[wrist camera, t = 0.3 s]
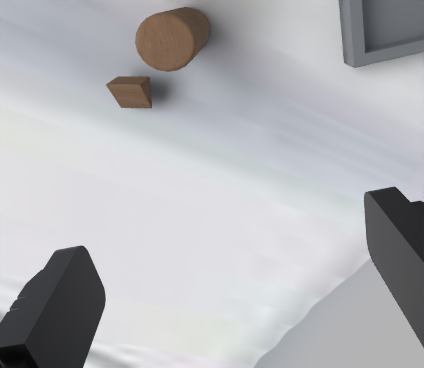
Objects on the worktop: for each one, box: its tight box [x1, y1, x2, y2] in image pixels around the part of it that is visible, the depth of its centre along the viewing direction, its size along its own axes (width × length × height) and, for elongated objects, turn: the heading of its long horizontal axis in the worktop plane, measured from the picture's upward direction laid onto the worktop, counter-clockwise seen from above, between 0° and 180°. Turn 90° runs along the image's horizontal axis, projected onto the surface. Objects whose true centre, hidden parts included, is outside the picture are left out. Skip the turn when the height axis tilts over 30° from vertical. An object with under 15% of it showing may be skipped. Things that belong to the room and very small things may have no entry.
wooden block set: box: [106, 7, 210, 108], centre depth 30 cm, size 18×9×10 cm, turn 0°
